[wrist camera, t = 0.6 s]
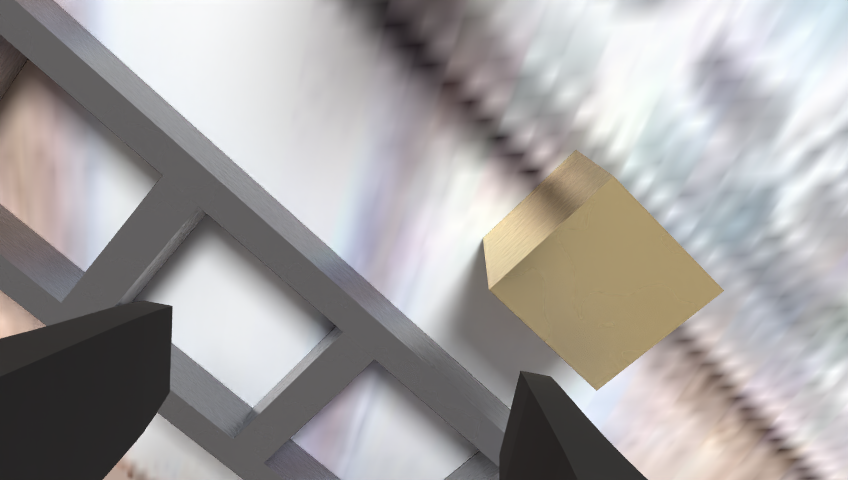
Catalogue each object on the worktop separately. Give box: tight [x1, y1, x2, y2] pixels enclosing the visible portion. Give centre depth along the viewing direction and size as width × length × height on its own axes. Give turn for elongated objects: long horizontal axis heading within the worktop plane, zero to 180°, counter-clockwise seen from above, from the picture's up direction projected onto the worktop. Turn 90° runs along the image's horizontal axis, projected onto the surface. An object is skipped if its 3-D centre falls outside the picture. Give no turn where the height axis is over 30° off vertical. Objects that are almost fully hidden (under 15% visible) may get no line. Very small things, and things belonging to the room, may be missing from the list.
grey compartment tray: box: [0, 0, 510, 480], centre depth 21 cm, size 24×9×2 cm, turn 46°
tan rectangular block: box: [483, 150, 724, 391], centre depth 17 cm, size 4×4×5 cm
